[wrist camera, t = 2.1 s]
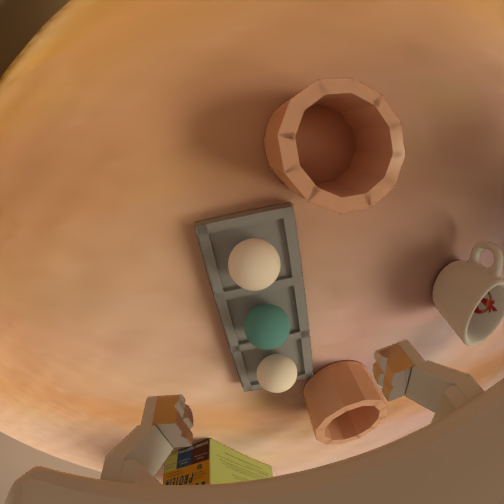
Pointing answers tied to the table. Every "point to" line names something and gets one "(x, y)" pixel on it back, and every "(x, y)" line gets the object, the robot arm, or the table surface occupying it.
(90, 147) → the table surface
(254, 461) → the protein box
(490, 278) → the cup
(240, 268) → the ball
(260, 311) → the ball
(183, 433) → the robot arm
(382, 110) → the tube
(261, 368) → the ball
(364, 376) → the tube
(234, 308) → the tray
